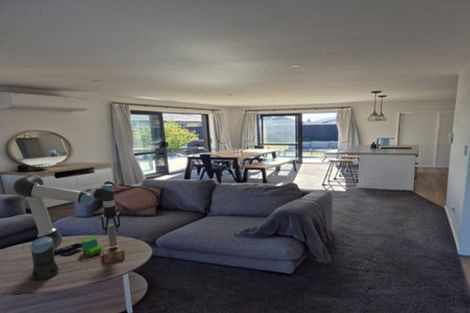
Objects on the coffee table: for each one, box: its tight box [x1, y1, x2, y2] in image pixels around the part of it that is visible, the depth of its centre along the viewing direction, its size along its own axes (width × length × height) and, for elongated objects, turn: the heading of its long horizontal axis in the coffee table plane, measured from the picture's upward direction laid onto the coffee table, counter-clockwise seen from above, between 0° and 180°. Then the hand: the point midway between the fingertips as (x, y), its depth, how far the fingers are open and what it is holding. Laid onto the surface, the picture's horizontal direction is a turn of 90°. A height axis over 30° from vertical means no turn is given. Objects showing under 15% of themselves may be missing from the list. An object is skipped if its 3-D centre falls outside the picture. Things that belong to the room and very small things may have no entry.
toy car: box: [81, 237, 103, 257], centre depth 220 cm, size 10×13×10 cm
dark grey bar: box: [107, 223, 118, 247], centre depth 211 cm, size 4×4×15 cm
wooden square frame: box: [102, 243, 125, 264], centre depth 213 cm, size 13×13×6 cm
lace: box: [80, 254, 103, 263], centre depth 213 cm, size 17×4×1 cm, turn 130°
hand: (112, 237), depth 212 cm, fingers closed on dark grey bar, 4 cm apart
